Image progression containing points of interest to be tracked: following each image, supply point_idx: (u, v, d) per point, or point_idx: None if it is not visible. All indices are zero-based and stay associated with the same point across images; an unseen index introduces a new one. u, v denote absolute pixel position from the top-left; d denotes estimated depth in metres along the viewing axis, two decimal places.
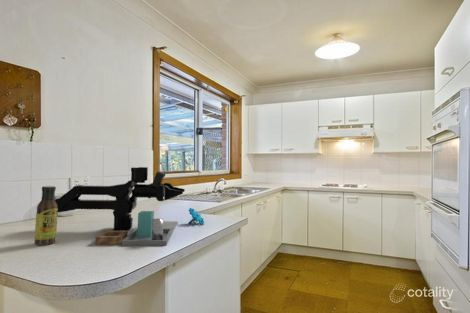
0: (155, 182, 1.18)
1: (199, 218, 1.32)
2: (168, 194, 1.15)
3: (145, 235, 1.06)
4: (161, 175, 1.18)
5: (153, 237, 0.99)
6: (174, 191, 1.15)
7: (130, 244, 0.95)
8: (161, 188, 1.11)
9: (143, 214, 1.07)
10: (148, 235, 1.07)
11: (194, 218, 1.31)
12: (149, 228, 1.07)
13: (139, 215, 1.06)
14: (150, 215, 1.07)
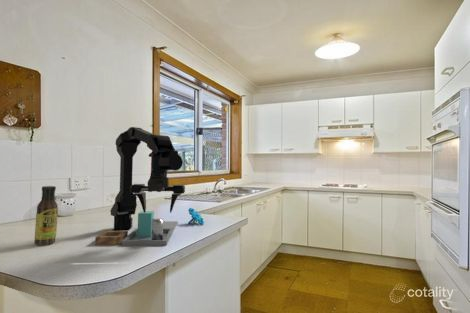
0: None
1: (199, 218, 1.32)
2: None
3: (145, 235, 1.06)
4: (147, 188, 0.94)
5: (153, 237, 0.99)
6: None
7: (130, 244, 0.95)
8: None
9: (143, 214, 1.07)
10: (148, 235, 1.07)
11: (194, 218, 1.31)
12: (149, 228, 1.07)
13: (139, 215, 1.06)
14: (150, 215, 1.07)
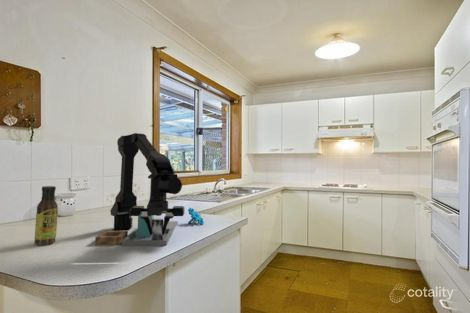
0: None
1: (198, 218, 1.32)
2: None
3: (145, 235, 1.06)
4: (147, 212, 0.94)
5: (153, 237, 0.99)
6: None
7: (130, 244, 0.95)
8: None
9: None
10: (148, 235, 1.07)
11: (193, 218, 1.32)
12: None
13: (139, 215, 1.06)
14: None
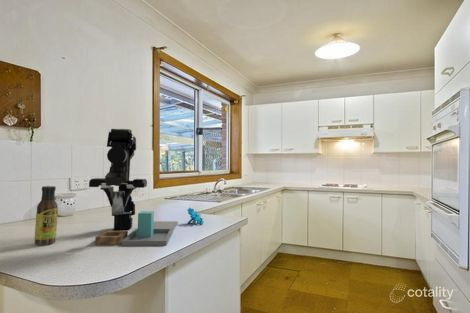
0: None
1: (198, 218, 1.32)
2: None
3: (145, 235, 1.06)
4: (105, 182, 0.93)
5: (113, 209, 0.98)
6: None
7: (130, 244, 0.95)
8: None
9: (143, 214, 1.07)
10: (148, 235, 1.07)
11: (193, 218, 1.32)
12: (149, 228, 1.07)
13: (139, 215, 1.06)
14: (150, 215, 1.07)
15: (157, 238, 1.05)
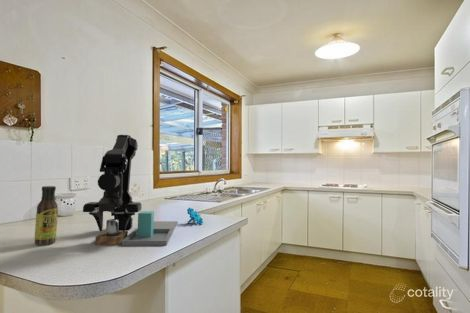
0: None
1: (197, 218, 1.32)
2: None
3: (145, 235, 1.06)
4: None
5: None
6: None
7: (130, 244, 0.95)
8: None
9: (143, 214, 1.07)
10: (148, 235, 1.07)
11: (192, 218, 1.32)
12: (149, 228, 1.07)
13: (139, 215, 1.06)
14: (150, 215, 1.07)
15: (157, 238, 1.05)
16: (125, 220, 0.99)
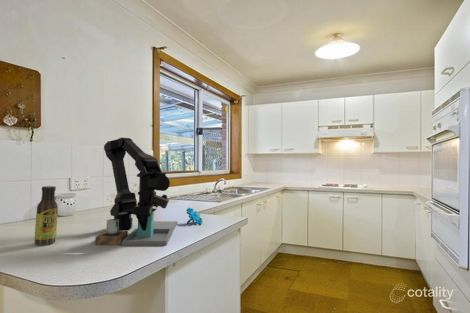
0: (155, 199, 1.07)
1: (197, 218, 1.32)
2: (142, 216, 1.05)
3: (145, 235, 1.06)
4: (163, 206, 1.07)
5: None
6: (145, 222, 1.05)
7: (130, 244, 0.95)
8: (146, 212, 1.00)
9: None
10: (148, 235, 1.07)
11: (192, 218, 1.32)
12: (149, 228, 1.07)
13: None
14: (150, 215, 1.07)
15: (157, 238, 1.05)
16: None
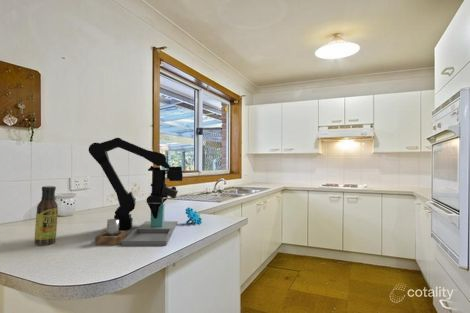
0: (166, 190, 1.21)
1: (196, 218, 1.32)
2: (153, 205, 1.18)
3: (157, 225, 1.21)
4: (173, 196, 1.22)
5: None
6: (156, 211, 1.18)
7: (130, 244, 0.95)
8: (159, 201, 1.14)
9: None
10: (160, 225, 1.21)
11: (191, 218, 1.32)
12: (161, 219, 1.21)
13: None
14: (161, 207, 1.21)
15: (157, 238, 1.05)
16: None
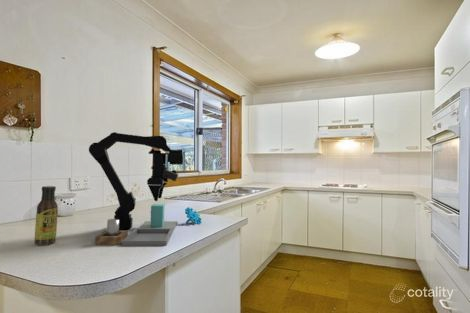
0: (166, 173, 1.21)
1: (195, 218, 1.32)
2: (154, 187, 1.18)
3: (157, 225, 1.21)
4: (173, 179, 1.22)
5: None
6: (157, 193, 1.18)
7: (130, 244, 0.95)
8: (159, 183, 1.14)
9: (155, 207, 1.21)
10: (160, 225, 1.21)
11: (190, 217, 1.32)
12: (161, 219, 1.21)
13: (151, 208, 1.20)
14: (161, 207, 1.21)
15: (157, 238, 1.05)
16: None
